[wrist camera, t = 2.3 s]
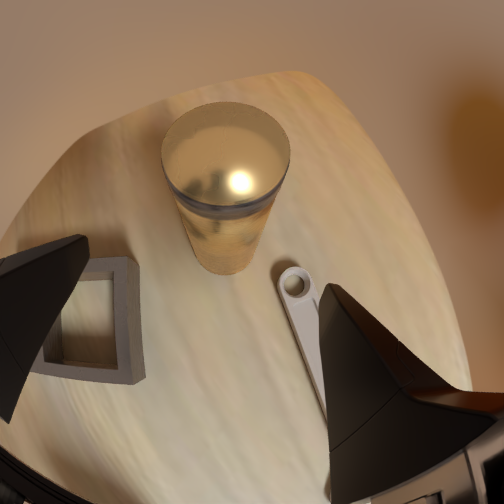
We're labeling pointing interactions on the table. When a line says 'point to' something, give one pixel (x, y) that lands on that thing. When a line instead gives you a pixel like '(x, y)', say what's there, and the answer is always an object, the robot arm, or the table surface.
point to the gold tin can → (225, 179)
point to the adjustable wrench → (305, 326)
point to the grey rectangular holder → (125, 330)
